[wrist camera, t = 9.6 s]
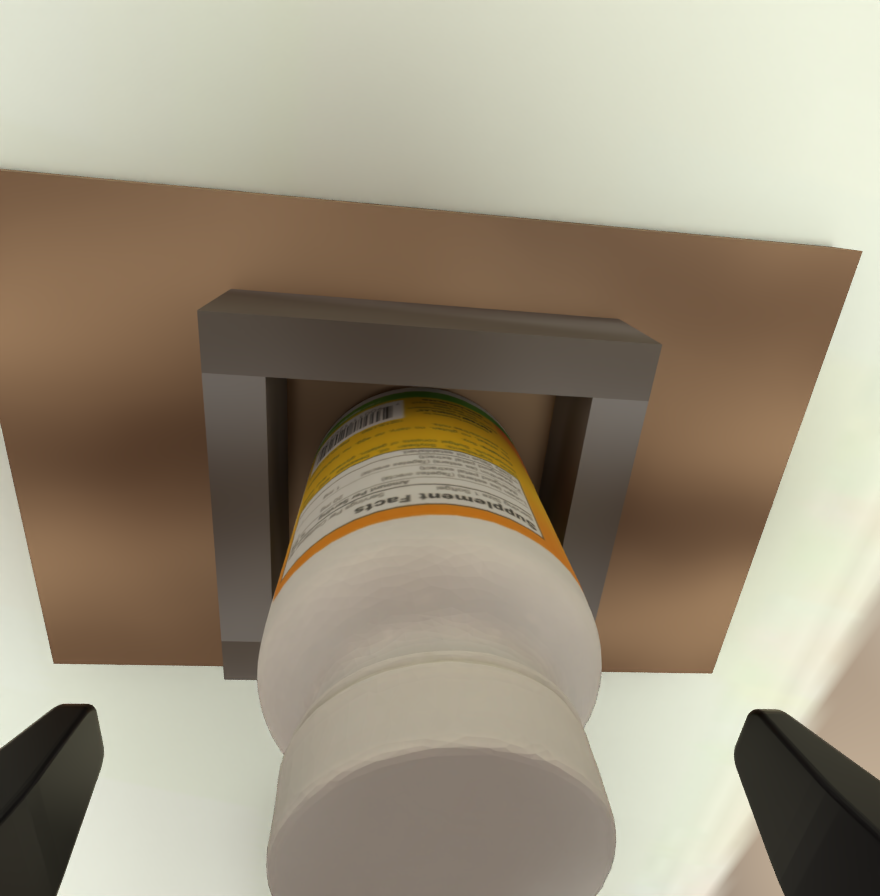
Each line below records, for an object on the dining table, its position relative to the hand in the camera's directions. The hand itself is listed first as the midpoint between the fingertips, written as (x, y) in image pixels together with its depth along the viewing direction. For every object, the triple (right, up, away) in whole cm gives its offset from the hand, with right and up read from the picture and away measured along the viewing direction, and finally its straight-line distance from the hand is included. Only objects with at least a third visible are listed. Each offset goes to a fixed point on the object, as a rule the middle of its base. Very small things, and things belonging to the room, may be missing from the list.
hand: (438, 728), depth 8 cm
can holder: (-1, +3, +8) cm, 9 cm away
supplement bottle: (-1, +3, +7) cm, 8 cm away
